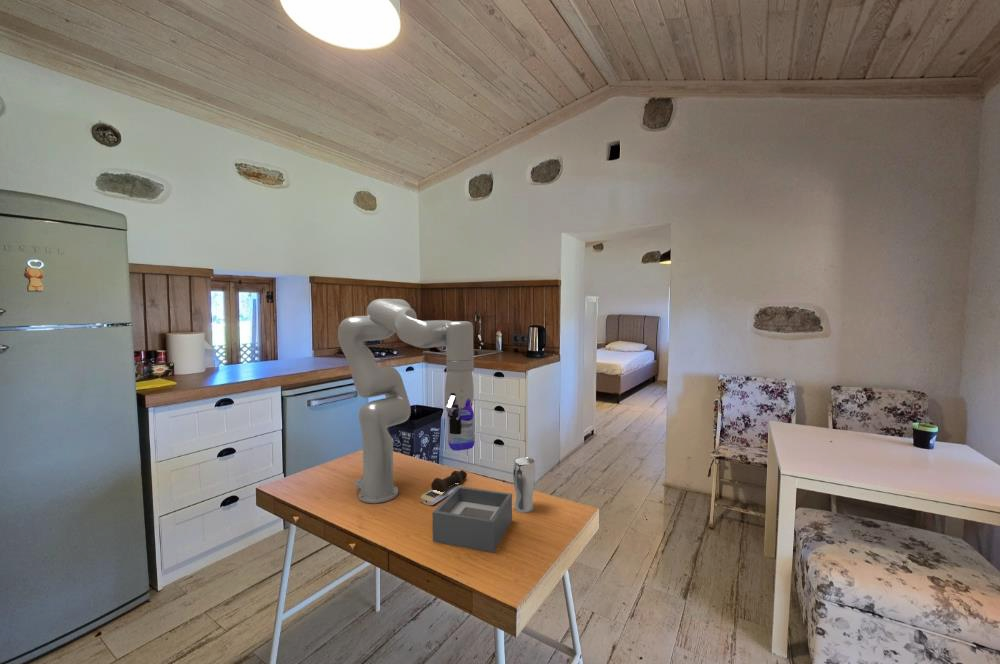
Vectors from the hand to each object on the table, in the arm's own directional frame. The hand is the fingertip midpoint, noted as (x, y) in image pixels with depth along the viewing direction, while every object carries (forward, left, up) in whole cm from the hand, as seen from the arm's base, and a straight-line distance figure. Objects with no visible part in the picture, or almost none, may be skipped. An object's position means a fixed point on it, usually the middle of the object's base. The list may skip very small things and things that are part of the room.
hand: (461, 429), depth 116 cm
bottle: (0, 0, -5) cm, 5 cm away
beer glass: (+14, +17, -29) cm, 36 cm away
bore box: (+4, 0, -28) cm, 29 cm away
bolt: (-14, +25, -29) cm, 40 cm away
